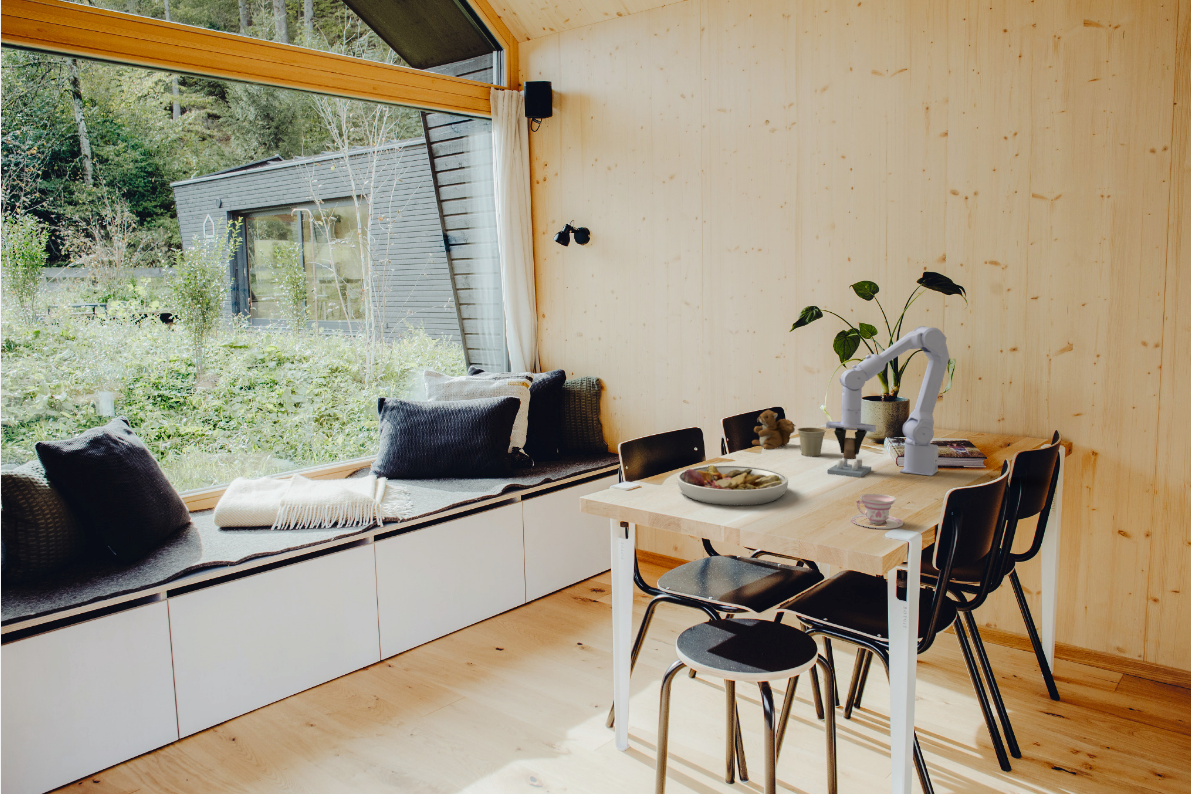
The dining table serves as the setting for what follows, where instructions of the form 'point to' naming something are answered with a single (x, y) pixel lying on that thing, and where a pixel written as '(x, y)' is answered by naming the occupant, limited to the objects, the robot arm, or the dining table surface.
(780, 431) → the stuffed squirrel
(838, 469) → the peg pad
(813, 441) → the flower pot
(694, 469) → the bowl
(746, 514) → the dining table surface
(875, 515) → the teacup
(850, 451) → the walnut pin
